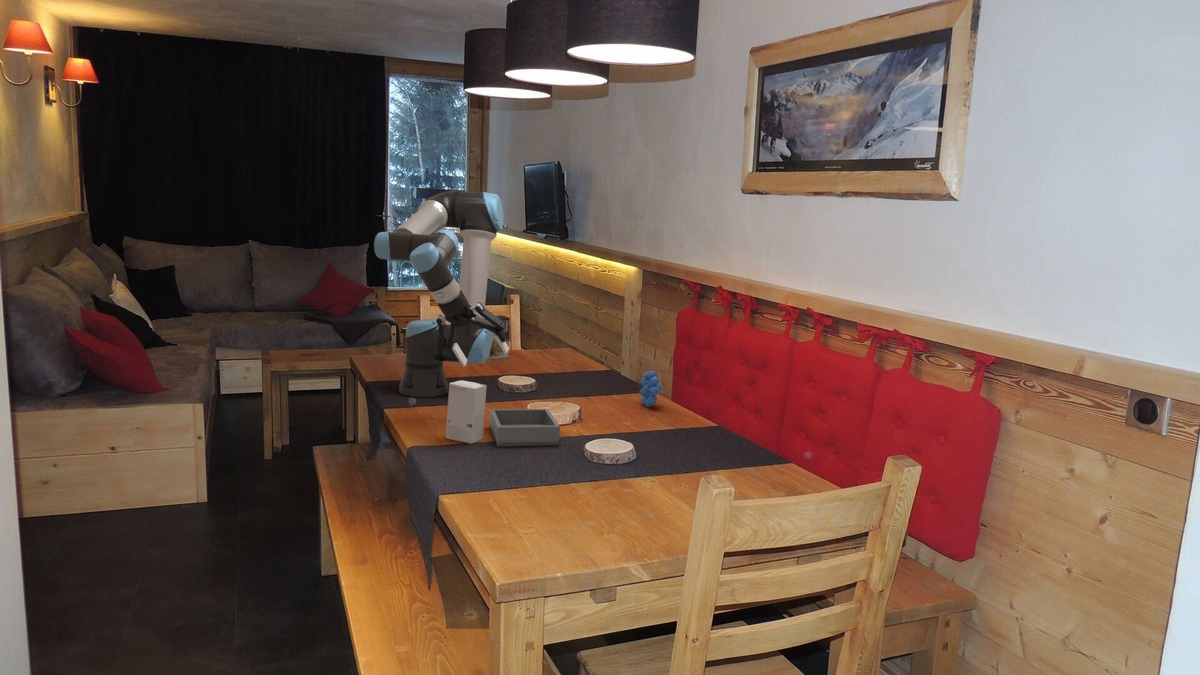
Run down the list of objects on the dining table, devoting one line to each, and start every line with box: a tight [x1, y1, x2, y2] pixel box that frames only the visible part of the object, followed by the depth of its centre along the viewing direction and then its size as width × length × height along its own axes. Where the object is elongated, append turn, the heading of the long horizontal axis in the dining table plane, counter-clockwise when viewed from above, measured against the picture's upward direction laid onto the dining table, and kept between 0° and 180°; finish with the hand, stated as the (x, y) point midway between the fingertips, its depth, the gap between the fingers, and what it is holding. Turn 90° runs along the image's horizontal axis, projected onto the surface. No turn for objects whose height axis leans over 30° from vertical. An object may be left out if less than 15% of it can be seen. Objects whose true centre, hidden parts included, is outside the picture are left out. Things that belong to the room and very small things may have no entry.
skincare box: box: [445, 379, 487, 444], centre depth 216 cm, size 8×6×15 cm
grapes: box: [639, 370, 663, 408], centre depth 260 cm, size 12×7×12 cm, turn 18°
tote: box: [489, 408, 561, 447], centre depth 223 cm, size 18×16×5 cm
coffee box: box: [486, 314, 511, 360], centre depth 326 cm, size 9×6×16 cm
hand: (486, 357), depth 236 cm, fingers open, 13 cm apart
